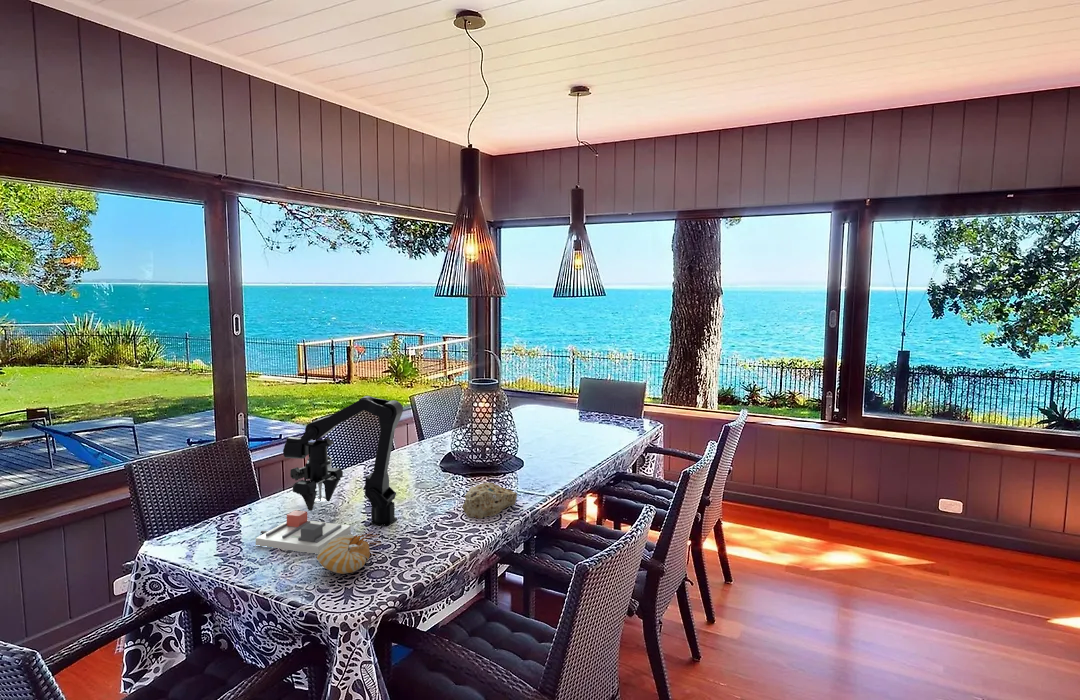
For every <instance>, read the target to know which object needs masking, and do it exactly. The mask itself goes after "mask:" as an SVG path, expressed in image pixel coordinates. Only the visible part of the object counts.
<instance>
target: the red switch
mask: <svg viewBox="0 0 1080 700" xmlns="http://www.w3.org/2000/svg"><path fill="white" fill-rule="evenodd" d="M286 521H287V526H292V527H298V526H300V525H302V524H304V523H305V522H307V521H308V511H306V510H297V509H294V510H292V511H291V512H289V513H287V514H286Z"/></svg>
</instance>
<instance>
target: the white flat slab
mask: <svg viewBox="0 0 1080 700" xmlns="http://www.w3.org/2000/svg"><path fill="white" fill-rule="evenodd" d="M309 523H311V524H319V525H322V526H323V535H322V536H321V537H319V538H318V539H316V540H315V542H310V541H303V540H301V528H302V527H304V526H306V525H307V524H309ZM351 526H352V525H348V524H340V523H333V522H324V521H323V522H322V521H315V520H308V521H307V522H305V523H304V524H302V525H300V526H298V527H292V526H287V520H286V521H285V522H283V523H281V524H279V525H278V526H274V528H272V529H269V530H260V535H259V536H257V537H256V538H255V546H256V545H260V546H267V547H273V548H280V549H286V550H285V551H287V550H294V551H300V552H299V553H301V552H307V553H306V554H309V553H316V554H318V553H319V552H320V551H321V549H322V548H323V547H324V546H326V545H327V544H328V543H329V542H330V541H331V540H333V539H335V538H338V537H342V536H346V535H348V534H349V535H350V534H352V528H351ZM261 533H263V534H261ZM273 548H272V549H273ZM280 549H279V550H280ZM294 551H293V552H294ZM316 554H315V555H316Z"/></svg>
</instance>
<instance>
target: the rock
mask: <svg viewBox="0 0 1080 700" xmlns="http://www.w3.org/2000/svg"><path fill="white" fill-rule="evenodd" d="M517 497H518V492H515V491H513V490H511V489H507V488H505V487H501V485H497V484H495V482H483V483H481V484H477V485H475V486H471V487H470V488H469V490H468V491H467V493H465V495H464V498H465V501H464V503H463V504H462V506H461V507H462V510H463V512H464V513H465V515H466V517H467V518H473V517H475V518H474V519H484V517H486V518H488V517H487V516H489V517H494V516H496V515H498V514H499V513H501V512H502V511H503V510H505V509H506V508H508V507H509V508H510V507H511V506H514V505H515V504H516V501H517Z"/></svg>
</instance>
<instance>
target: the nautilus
mask: <svg viewBox="0 0 1080 700" xmlns="http://www.w3.org/2000/svg"><path fill="white" fill-rule="evenodd" d="M366 531H367V530H365V531H363V532H362V533H358V534H356V535H353V534H352V533H350V534H349V535H346V536H342V537H338V538H335V539H333V540H331V541H330V542H329V543H328V544H327V545H326V546H324V547H323V548H322V549H321V551H320V552H319V553H318V555H316V559H317V561H318V563H319V564H320V565H321V566H322V567H323V568H324V569H326V570H328V571H330V572H334V573H335V574H342V575H344V574H351V573H355V572H356V571H358V570H360V569H362V568H363V567H364V565H365V564H367V562H368V561H369V559H370V557H371V556H372V555H376V553H374V552H375V550H371V549H370V548H373V547H379V546H380V545H383V543H381V542H369V541H366V539H374V538H376V539H377V538H379V535H377V534H372V533H374V530H373V531H371V532H369V533H367V534H366V533H365V532H366ZM364 533H365V534H364ZM370 545H371V546H370ZM372 552H373V553H372ZM371 553H372V554H371Z"/></svg>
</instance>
